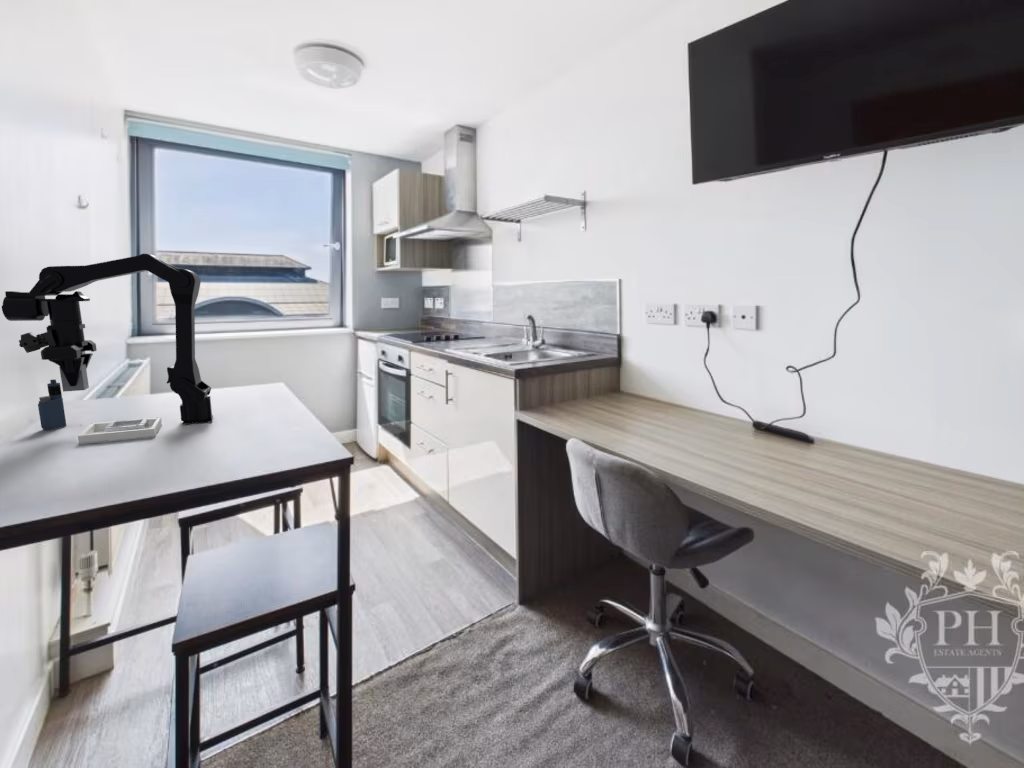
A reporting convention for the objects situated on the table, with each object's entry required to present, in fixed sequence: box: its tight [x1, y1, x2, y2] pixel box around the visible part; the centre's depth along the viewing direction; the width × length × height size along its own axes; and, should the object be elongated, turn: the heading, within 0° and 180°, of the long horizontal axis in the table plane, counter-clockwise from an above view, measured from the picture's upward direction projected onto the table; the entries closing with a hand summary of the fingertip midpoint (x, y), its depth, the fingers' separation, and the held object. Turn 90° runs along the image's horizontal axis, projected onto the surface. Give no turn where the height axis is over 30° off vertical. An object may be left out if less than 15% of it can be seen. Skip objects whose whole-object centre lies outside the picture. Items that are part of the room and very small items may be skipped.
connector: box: [58, 364, 90, 392], centre depth 120 cm, size 4×4×7 cm
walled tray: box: [77, 417, 163, 445], centre depth 119 cm, size 14×12×2 cm
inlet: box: [105, 418, 149, 433], centre depth 119 cm, size 7×7×2 cm
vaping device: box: [37, 379, 67, 431], centre depth 122 cm, size 3×5×12 cm, turn 174°
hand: (75, 384), depth 121 cm, fingers closed on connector, 4 cm apart
